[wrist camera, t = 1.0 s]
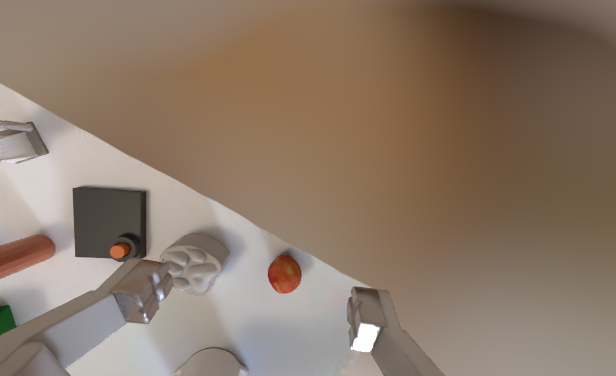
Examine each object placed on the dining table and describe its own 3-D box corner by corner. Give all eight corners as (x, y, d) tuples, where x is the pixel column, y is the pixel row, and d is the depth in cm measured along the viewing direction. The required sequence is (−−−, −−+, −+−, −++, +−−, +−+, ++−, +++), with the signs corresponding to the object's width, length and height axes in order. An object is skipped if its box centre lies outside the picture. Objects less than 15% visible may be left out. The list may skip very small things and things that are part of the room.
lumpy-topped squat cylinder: (213, 283, 56) (200, 305, 47) (166, 258, 54) (143, 277, 45) (235, 250, 55) (225, 266, 47) (188, 224, 53) (169, 236, 45)
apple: (276, 284, 57) (274, 304, 50) (264, 256, 56) (260, 272, 48) (304, 273, 58) (307, 291, 50) (293, 245, 57) (294, 259, 49)
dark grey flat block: (145, 255, 53) (136, 262, 50) (82, 253, 52) (68, 260, 48) (145, 191, 51) (135, 193, 48) (80, 186, 50) (65, 189, 46)
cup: (55, 260, 51) (0, 284, 42) (26, 259, 51) (-37, 283, 41) (54, 235, 51) (-2, 253, 41) (24, 234, 50) (-41, 252, 40)
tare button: (130, 255, 50) (124, 258, 48) (115, 254, 50) (109, 258, 48) (130, 242, 50) (124, 245, 48) (115, 242, 49) (109, 245, 47)
